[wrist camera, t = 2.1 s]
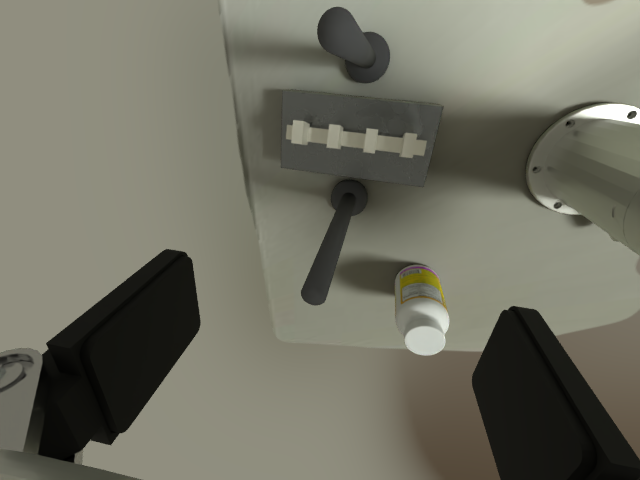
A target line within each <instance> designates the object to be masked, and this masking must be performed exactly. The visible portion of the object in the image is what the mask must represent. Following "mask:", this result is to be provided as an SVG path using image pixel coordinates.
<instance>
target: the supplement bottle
mask: <svg viewBox="0 0 640 480" xmlns="http://www.w3.org/2000/svg"><path fill="white" fill-rule="evenodd" d="M395 318H396V325H397V328H398V330H399V331H400V332H401V334H402V335H403V336H404V341H405V344H406V346H407V348H408V349H409V350H410V351H412V352H414V353H416V354H419V355H433V354H436V353H438V352H439V351H441V350H442V349H443V347H444V345H445V335H444V334H445V333H446V331H447V329H448V327H449V316H448V312H447V308H446V304H445V300H444V296H443V292H442V288H441V284H440V280H439V277H438V275H437V274H436V273H435V271H433V270H432V269H431V268H429V267H427V266H423V265H410V266H408V267H405V268H404V269H402V270H401V271H400V272H399V273H398V274H397V276H396V279H395Z"/></svg>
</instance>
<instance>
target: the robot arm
mask: <svg viewBox="0 0 640 480" xmlns="http://www.w3.org/2000/svg"><path fill="white" fill-rule="evenodd" d="M628 113H629V114H628ZM627 114H628V116H627ZM567 121H569V123H568V124H567V125H566V122H567ZM534 167H536V168H535V169H534V170H532V169H533V168H534ZM526 180H527V185H528V187H529V189H530V192H531V193H532V195H533V196H534V197H535V198H536V200H538V201H539V202H540V203H541V204H542V205H544V206H545V207H547V208H549V209H550V210H553V211H556V212H558V213H563V214H569V215H583V216H584V217H586V218H587V219H588V220H590V221H591V222H593V223H594V224H596V225H597V226H598V227H600V228H601V229H603V230H604V231H605V232H607V233H608V234H609V235H610V237H611V239H612V240H613V241H618V242H619V241H620V242H621V243H622V244H624V245H625V246H627V247H628V248H629V249H631V250H632V251H634V252H635V253H637V254H638V255H639V256H640V108H638V107H636V106H632V105H627V104H623V103H598V104H594V105H590V106H586V107H583V108H580V109H578V110H575V111H573V112H571V113H569V114H567V115H566V116H564V117H562V118H561V119H559V120H558V121H557V122H555V123H554V124H553V125H551V126H550V127H549V128H548V129H547V130H546V131H545V132H544V133H543V134H542V135H541V137H540V138H539V139H538V141H537V142H536V144H535V145H534V147H533V149H532V151H531V153H530V155H529V158H528V162H527V165H526ZM556 202H557V203H556ZM555 203H556V204H555ZM199 328H200V315H199V307H198V301H197V293H196V286H195V278H194V271H193V263H192V260H191V258H189V257H188V255H187V254H186V253H185V252H182V251H176V250H169V249H166V250H164V251H162V252H161V253H160V254H159V255H158V256H156V257H155V258H153V259H152V260H151V261H150V262H148V263H147V264H146V265H145V266H143V267H142V268H141V269H140V270H138V271H137V272H136V273H134V274H133V275H132V276H131V277H129V278H128V279H127V280H126V281H124V282H123V283H122V284H121V285H119V286H118V287H117V288H115V289H114V290H113V291H112V292H110V293H109V294H108V295H107V296H105V297H104V298H103V299H102V300H100V301H99V302H98V303H96V304H95V305H94V306H93V307H92V308H90V309H89V310H88V311H86V312H85V313H84V314H83V315H82V316H80V317H79V318H77V319H76V320H75V321H74V322H73V323H71V324H70V325H69V326H67V327H66V328H65V329H64V330H62V331H61V332H60V333H59V334H57V335H56V336H55V337H54V338H52V339H51V340H50V341H48V342H47V343H46V344H47V346H48V350H47V351H46V352H45V353H44V354H42V355H41V354H40V353H39V352H38V351H37V350H33V349H30V348H19V349H13V350H8V351H4V352H1V353H0V480H141V479H137V478H133V477H129V476H125V475H121V474H117V473H113V472H109V471H105V470H101V469H97V468H93V467H88V466H84V465H82V455H83V448H84V447H85V446H86V444H87V443H88V442H89V441H90V439H91V440H92V441H96V442H100V443H104V444H108V445H111V444H112V443H113V441H114V440H115V439H116V437H117V436H118V435H119V433H123V432H125V431H126V430H127V429H128V428H129V427H130V425H131V424H132V423H133V421H134V420H135V419H136V417H137V416H138V415H139V413H140V412H141V410H142V409H143V408H144V406H145V405H146V403H147V402H148V401H149V399H150V398H151V397H152V395H153V394H154V392H155V391H156V390H157V388H158V387H159V385H160V384H161V382H162V381H163V380H164V378H165V377H166V376H167V374H168V373H169V372H170V370H171V369H172V367H173V366H174V365H175V363H176V362H177V360H178V359H179V358H180V356H181V355H182V353H183V352H184V351H185V349H186V348H187V346H188V345H189V344H190V342H191V341H192V340H193V338H194V337H195V335H196V334H197V332H198V331H199ZM472 386H473V390H474V393H475V396H476V399H477V403H478V406H479V409H480V413H481V416H482V419H483V422H484V426H485V429H486V432H487V436H488V439H489V442H490V446H491V449H492V452H493V456H494V459H495V462H496V465H497V469H498V472H499V476H500V478H501V480H640V460H639V458H638V457H637V456H636V454H635V452H634V451H633V449H632V448H631V446H630V445H629V444H628V442H627V441H626V439H625V438H624V436H623V435H622V433H621V432H620V431H619V429H618V428H617V426H616V425H615V423H614V422H613V420H612V419H611V417H610V416H609V414H608V413H607V412H606V410H605V408H604V407H603V406H602V404H601V403H600V401H599V400H598V398H597V397H596V395H595V394H594V392H593V391H592V389H591V388H590V387H589V385H588V384H587V382H586V381H585V379H584V378H583V376H582V375H581V374H580V372H579V371H578V369H577V368H576V366H575V365H574V363H573V362H572V360H571V359H570V357H569V356H568V354H567V353H566V352H565V350H564V349H563V347H562V346H561V344H560V343H559V341H558V340H557V338H556V337H555V335H554V334H553V332H552V331H551V329H550V328H549V326H548V325H547V324H546V322H545V321H544V319H543V318H542V316H541V315H540V313H539V312H538V311H537V310H534V309H528V308H522V307H516V306H512V307H510V308H509V309H508V310H503V311H502V313H501V314H500V316H499V319H498V321H497V323H496V325H495V327H494V329H493V332H492V334H491V336H490V338H489V340H488V342H487V345H486V347H485V349H484V351H483V353H482V355H481V358H480V360H479V362H478V364H477V366H476V368H475V371H474V373H473V376H472Z"/></svg>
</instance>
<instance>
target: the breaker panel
mask: <svg viewBox="0 0 640 480" xmlns="http://www.w3.org/2000/svg"><path fill="white" fill-rule="evenodd" d="M442 110H443V106H442V105H440V104H433V103H423V102H413V101H403V100H392V99H382V98H372V97H362V96H352V95H342V94H331V93H321V92H311V91H301V90H283V91H282V138H281V168H288V169H295V170H302V171H310V172H317V173H324V174H331V175H339V176H346V177H353V178H361V179H368V180H375V181H383V182H390V183H397V184H405V185H412V186H419V187H424V183H425V179H426V175H427V171H428V167H429V163H430V159H431V155H432V151H433V147H434V143H435V139H436V135H437V131H438V127H439V123H440V119H441V115H442ZM293 120H298V121H305V122H307V123H309V124H310V127H311V128H320V129H329V124H333V125H341V126H342V127H343V131H346V132H355V133H363V134H366V130H367V128H369V129H378V135H381V136H389V137H398V138H403V134H405V133H413V134H417V138H416V140H424V141H427V143H426V148H425V153H424V156H420V155H413V158H406V157H399V155H400V153H395V152H387V151H379V150H375V154H374V153H366V152H363V149H362V148H354V147H346V146H341V149H334V148H327V144H322V143H313V142H308V145H302V144H294V143H291V140H289V139H286V131H287V125H293Z"/></svg>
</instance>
